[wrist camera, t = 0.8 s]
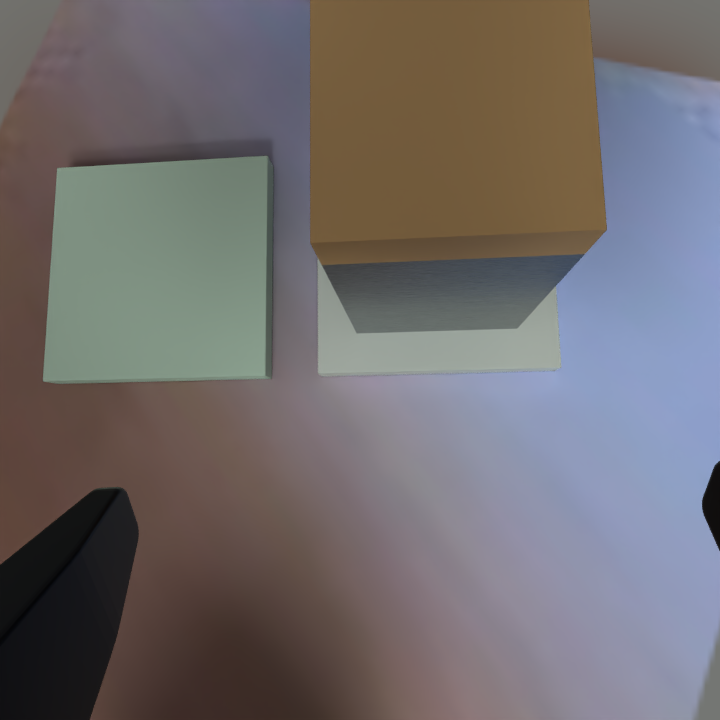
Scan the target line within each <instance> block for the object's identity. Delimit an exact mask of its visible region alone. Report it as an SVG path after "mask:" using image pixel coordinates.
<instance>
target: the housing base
mask: <svg viewBox="0 0 720 720" xmlns="http://www.w3.org/2000/svg"><path fill="white" fill-rule="evenodd" d="M583 255H584V254H575V255H551V256H527V257H503V258H479V259H455V260H431V261H407V262H383V263H359V264H335V265H322V267H323V269H324V271H325V272H326V274H327V276H328V278H329V280H330V282H331V284H332V286H333V288H334V290H335V292H336V294H337V296H338V298H339V300H340V302H341V304H342V306H343V308H344V310H345V312H346V313H347V315H348V317H349V319H350V321H351V323H352V325H353V327H354V329H355V331H356V333H357V334H358V333H391V332H424V331H456V330H489V329H517V328H518V327H519V326H520V325H521V324H522V323H523V322H524V321H525V319H526V318H527V317H528V316H529V315H530V314H531V313H532V312H533V311H534V310H535V308H536V307H537V306H538V305H539V304H540V303H541V302H542V301H543V300H544V298H545V297H546V296H547V295H548V294H549V293H550V292H551V291H552V290H553V289H554V287H555V286H556V285H557V284H558V283H559V282H560V281H561V280H562V279H563V278H564V276H565V275H566V274H567V273H568V272H569V271H570V270H571V269H572V268H573V266H574V265H575V264H576V263H577V262H578V261H579V260H580V259H581V258H582V257H583Z"/></svg>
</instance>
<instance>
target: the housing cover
mask: <svg viewBox="0 0 720 720" xmlns="http://www.w3.org/2000/svg"><path fill="white" fill-rule="evenodd" d="M606 230H607V225H606V212H605V200H604V187H603V175H602V162H601V149H600V137H599V124H598V112H597V99H596V87H595V74H594V62H593V49H592V37H591V25H590V11H589V0H310V243H311V245H312V247H313V249H314V251H315V253H316V255H317V257H318V259H319V261H320V263H321V265H335V264H359V263H383V262H407V261H431V260H455V259H479V258H503V257H527V256H551V255H575V254H585V253H586V252H587V251H588V250H589V249H590V248H591V247H592V245H593V244H594V243H595V242H596V241H597V240H598V239H599V238H600V237H601V236H602V234H603V233H604V232H605V231H606Z"/></svg>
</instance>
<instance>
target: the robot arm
mask: <svg viewBox="0 0 720 720" xmlns="http://www.w3.org/2000/svg"><path fill="white" fill-rule="evenodd" d="M702 509H703V513H704V516H705V519H706V521H707V523H708V526H709V528H710V530H711V532H712V535H713V537H714V539H715V541H716V544H717V546H718V548H719V551H720V461H719V462H718V463H717V464H716V465H715V466H714V469H713V471H712V474H711V477H710V480H709V482H708V485H707V488H706V491H705V493H704V496H703V500H702ZM138 536H139V530H138V524H137V521H136V518H135V515H134V512H133V509H132V506H131V503H130V500H129V497H128V494H127V492H126V491H125V490H124V489H123V488H120V487H111V488H98V489H95V490H93V491H92V492H90V493H89V494H88V495H86V496H85V497H84V498H83V499H81V500H80V501H79V502H78V503H76V504H75V505H74V506H73V507H71V508H70V509H69V510H68V511H66V512H65V513H64V514H63V515H62V516H60V517H59V518H58V519H57V520H55V521H54V522H53V523H52V524H50V525H49V526H48V527H47V528H45V529H44V530H43V531H42V532H40V533H39V534H38V535H37V536H35V537H34V538H33V539H32V540H30V541H29V542H28V543H27V544H25V545H24V546H23V547H22V548H21V549H19V550H18V551H17V552H16V553H14V554H13V555H12V556H11V557H9V558H8V559H7V560H6V561H4V562H3V563H2V564H1V565H0V720H90V717H91V714H92V711H93V708H94V705H95V702H96V699H97V696H98V693H99V690H100V687H101V684H102V681H103V678H104V675H105V672H106V669H107V666H108V663H109V660H110V657H111V654H112V651H113V647H114V644H115V641H116V638H117V634H118V630H119V625H120V621H121V617H122V612H123V608H124V603H125V598H126V594H127V589H128V585H129V580H130V575H131V571H132V566H133V561H134V557H135V552H136V548H137V543H138Z"/></svg>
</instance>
